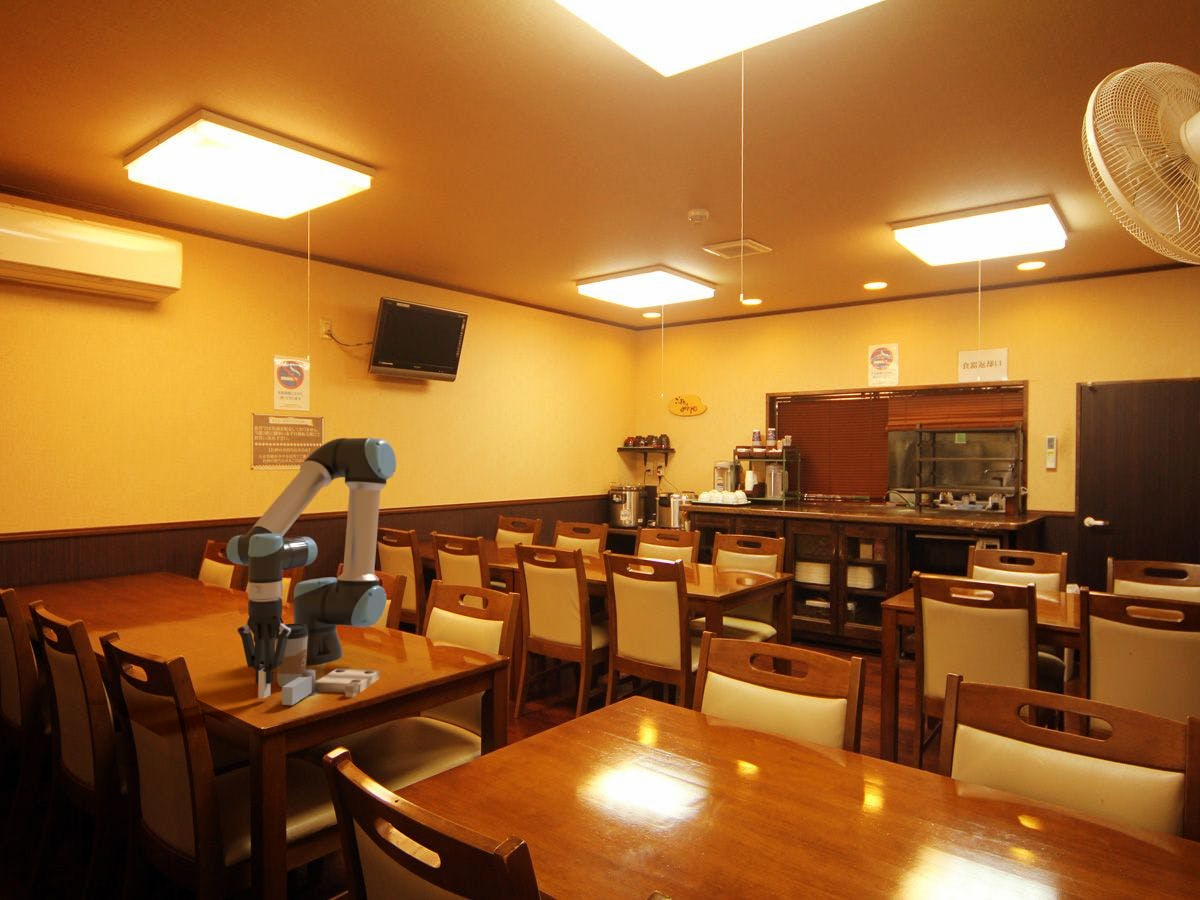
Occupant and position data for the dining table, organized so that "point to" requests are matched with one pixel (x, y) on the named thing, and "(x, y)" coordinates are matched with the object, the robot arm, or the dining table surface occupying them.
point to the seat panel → (346, 681)
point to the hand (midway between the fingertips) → (264, 696)
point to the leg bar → (299, 688)
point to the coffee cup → (293, 654)
